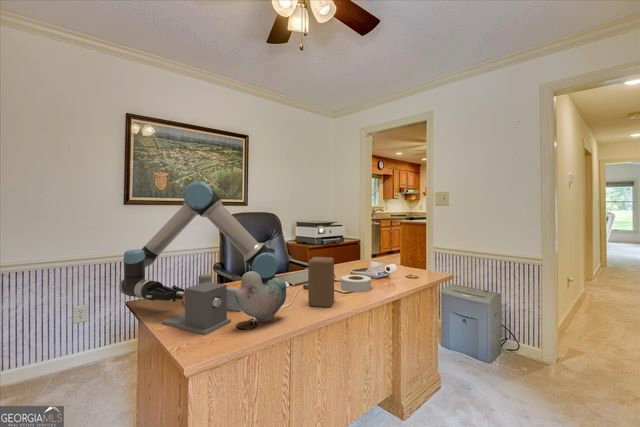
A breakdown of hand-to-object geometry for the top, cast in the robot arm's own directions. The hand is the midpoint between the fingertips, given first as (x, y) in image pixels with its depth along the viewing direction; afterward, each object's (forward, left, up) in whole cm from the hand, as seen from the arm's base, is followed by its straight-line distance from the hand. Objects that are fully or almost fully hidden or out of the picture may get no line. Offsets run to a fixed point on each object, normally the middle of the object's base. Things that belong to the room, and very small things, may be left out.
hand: (190, 297), depth 111 cm
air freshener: (-30, +12, -9) cm, 34 cm away
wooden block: (+11, +52, -9) cm, 54 cm away
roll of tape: (+1, +81, -10) cm, 82 cm away
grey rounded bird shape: (+16, +22, -9) cm, 29 cm away
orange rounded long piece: (+6, +4, -4) cm, 8 cm away
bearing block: (+3, +2, -9) cm, 10 cm away
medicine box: (-4, +18, -9) cm, 21 cm away
